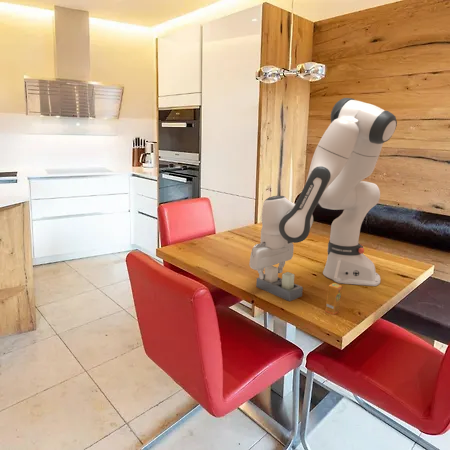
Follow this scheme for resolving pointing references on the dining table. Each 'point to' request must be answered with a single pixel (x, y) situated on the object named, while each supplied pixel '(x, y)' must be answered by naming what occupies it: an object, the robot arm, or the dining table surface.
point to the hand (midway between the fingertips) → (271, 275)
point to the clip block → (271, 274)
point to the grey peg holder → (280, 289)
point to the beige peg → (288, 280)
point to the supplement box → (333, 298)
